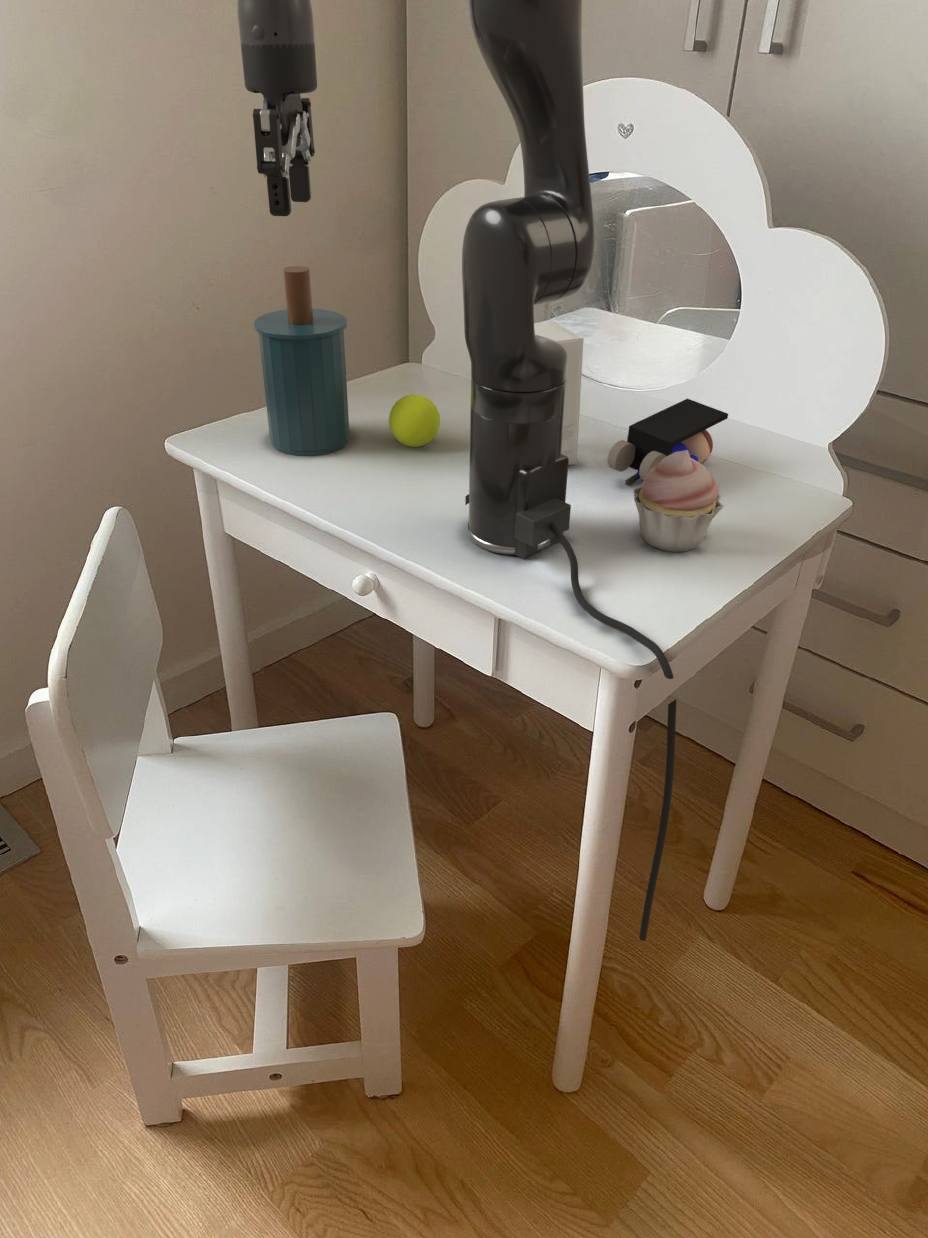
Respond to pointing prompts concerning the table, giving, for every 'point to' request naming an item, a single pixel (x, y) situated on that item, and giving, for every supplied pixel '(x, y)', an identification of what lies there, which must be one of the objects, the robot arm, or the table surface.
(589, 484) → the table surface
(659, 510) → the cupcake
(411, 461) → the table surface
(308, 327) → the tube lid
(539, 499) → the robot arm
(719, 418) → the figurine character
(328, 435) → the tube
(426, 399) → the tennis ball
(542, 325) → the cosmetic box
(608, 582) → the table surface
